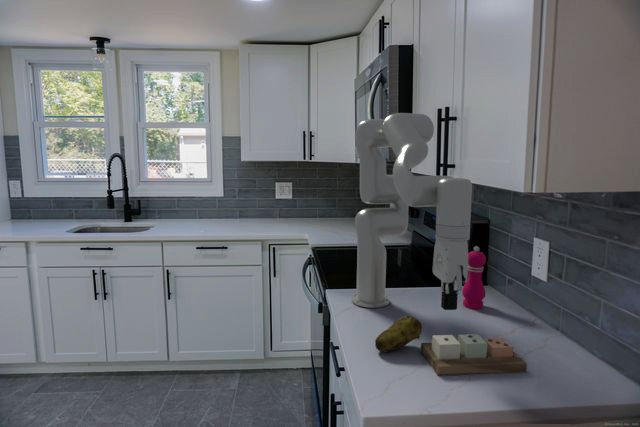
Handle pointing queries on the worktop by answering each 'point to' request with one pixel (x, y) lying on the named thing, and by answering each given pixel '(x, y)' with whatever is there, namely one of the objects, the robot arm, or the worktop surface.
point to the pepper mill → (474, 280)
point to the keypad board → (473, 364)
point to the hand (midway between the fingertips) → (448, 308)
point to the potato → (399, 334)
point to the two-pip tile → (472, 346)
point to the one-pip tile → (445, 347)
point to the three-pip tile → (498, 348)
